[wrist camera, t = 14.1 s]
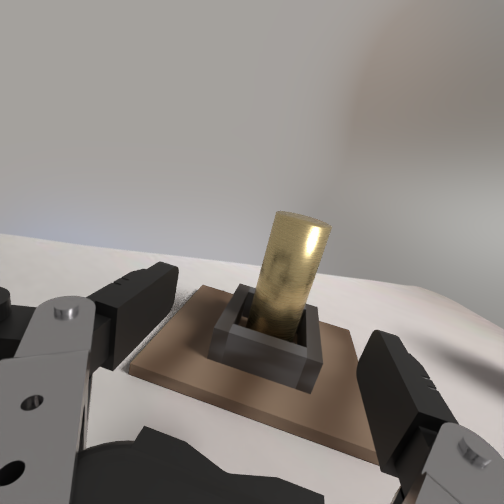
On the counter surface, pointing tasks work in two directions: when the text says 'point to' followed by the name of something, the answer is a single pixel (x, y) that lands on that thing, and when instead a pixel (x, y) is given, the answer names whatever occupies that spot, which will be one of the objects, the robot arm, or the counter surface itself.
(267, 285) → the post
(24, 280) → the counter surface
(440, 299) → the counter surface
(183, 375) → the mounting plate
